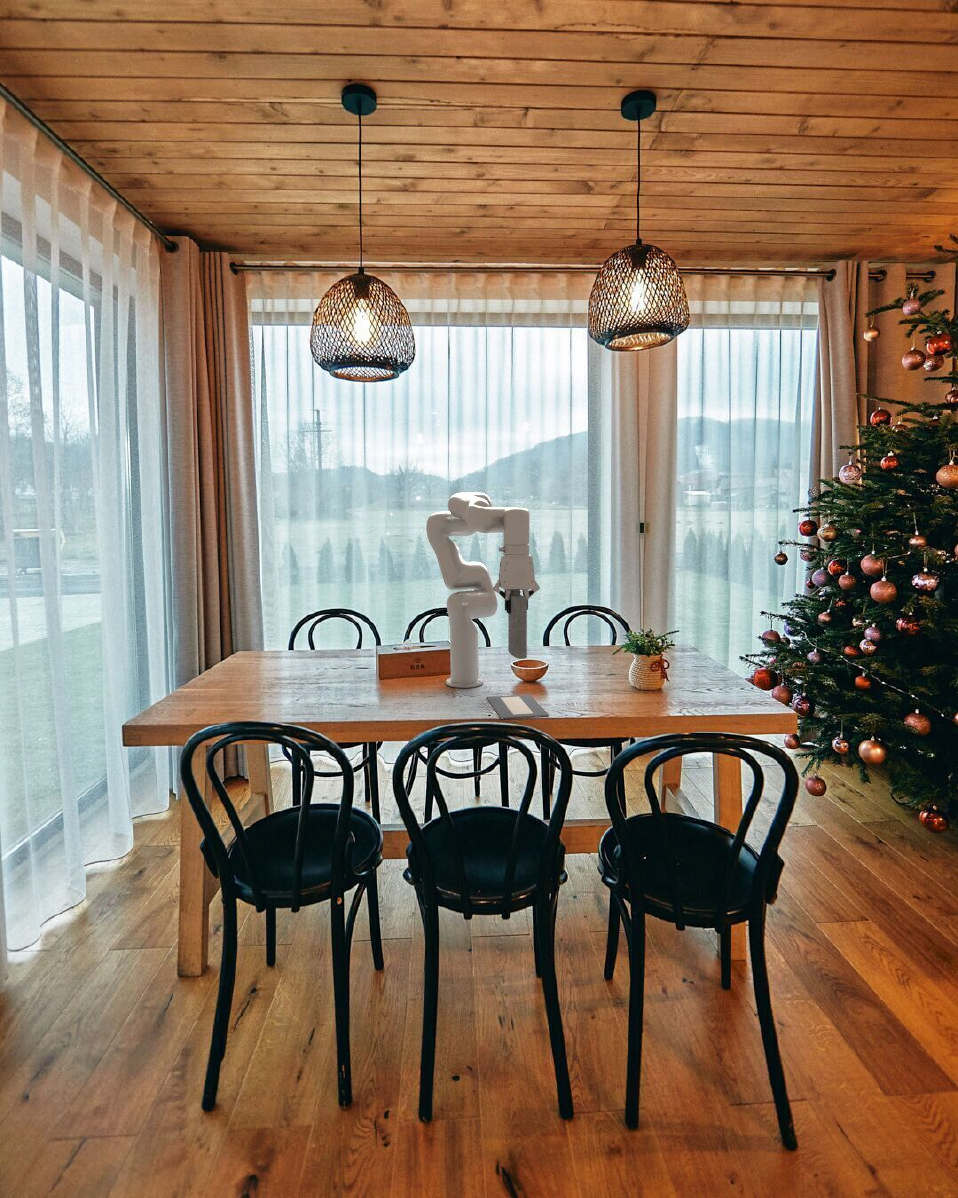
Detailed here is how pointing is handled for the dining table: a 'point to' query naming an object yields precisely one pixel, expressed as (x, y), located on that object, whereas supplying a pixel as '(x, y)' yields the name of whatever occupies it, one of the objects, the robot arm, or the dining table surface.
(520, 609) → the hip flask
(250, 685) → the dining table surface
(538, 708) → the mat
